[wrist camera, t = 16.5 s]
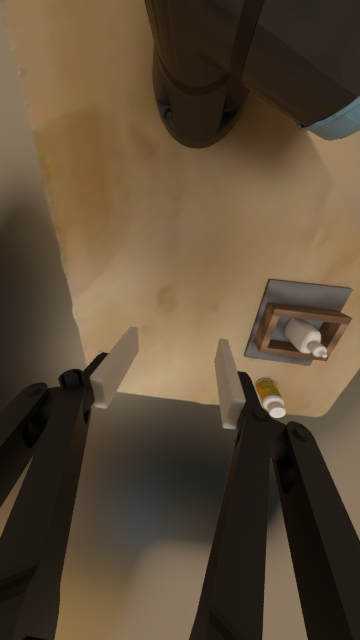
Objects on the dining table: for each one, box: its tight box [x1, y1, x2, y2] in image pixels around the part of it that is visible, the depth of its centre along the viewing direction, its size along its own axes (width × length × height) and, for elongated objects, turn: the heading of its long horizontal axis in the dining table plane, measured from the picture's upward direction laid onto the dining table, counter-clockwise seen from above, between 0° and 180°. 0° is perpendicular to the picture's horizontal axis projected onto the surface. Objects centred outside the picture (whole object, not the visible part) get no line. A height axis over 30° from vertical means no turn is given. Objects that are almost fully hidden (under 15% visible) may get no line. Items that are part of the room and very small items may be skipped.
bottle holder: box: [244, 279, 353, 366], centre depth 40 cm, size 22×18×6 cm
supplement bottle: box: [256, 378, 286, 418], centre depth 47 cm, size 5×5×10 cm
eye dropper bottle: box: [284, 318, 327, 358], centre depth 36 cm, size 4×6×12 cm
